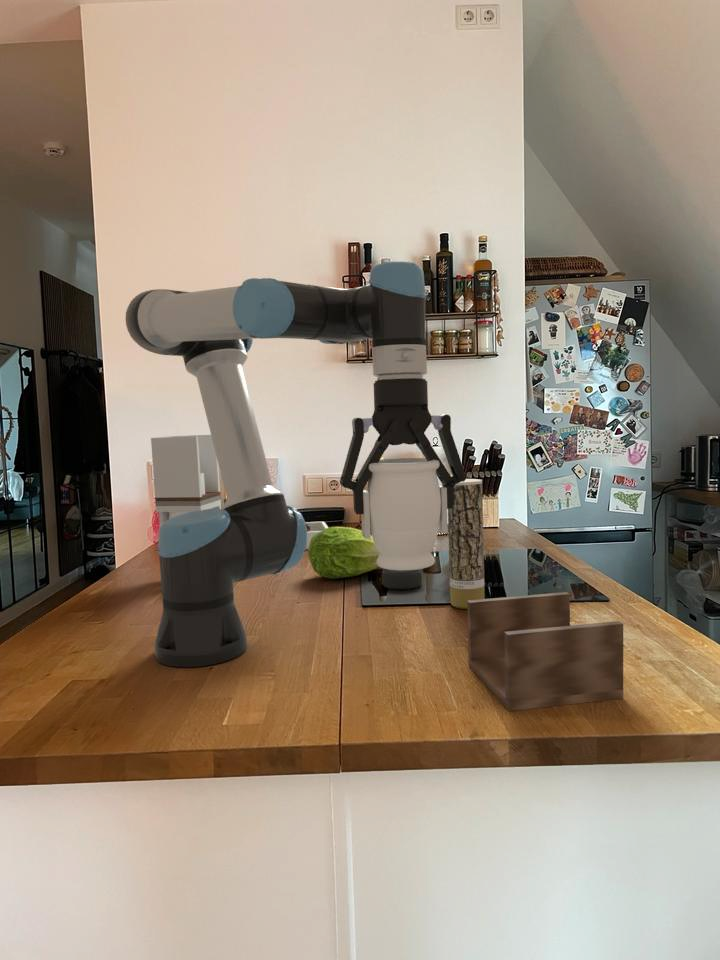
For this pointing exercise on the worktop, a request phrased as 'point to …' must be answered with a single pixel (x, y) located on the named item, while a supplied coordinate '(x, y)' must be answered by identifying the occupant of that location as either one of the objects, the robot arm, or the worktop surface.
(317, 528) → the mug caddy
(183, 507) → the display case
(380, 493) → the jar
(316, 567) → the lettuce
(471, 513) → the paper tube
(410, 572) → the smart speaker
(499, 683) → the holder
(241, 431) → the robot arm
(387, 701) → the worktop surface
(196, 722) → the worktop surface
